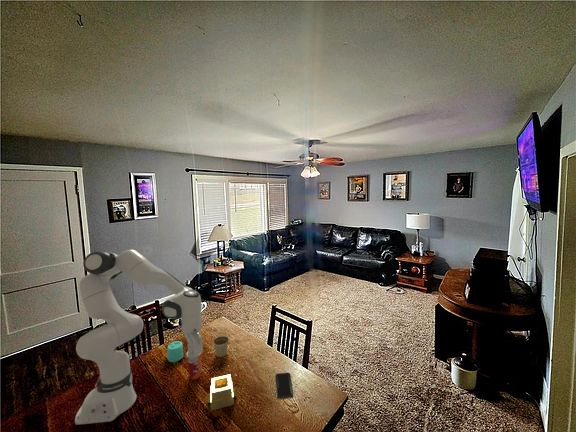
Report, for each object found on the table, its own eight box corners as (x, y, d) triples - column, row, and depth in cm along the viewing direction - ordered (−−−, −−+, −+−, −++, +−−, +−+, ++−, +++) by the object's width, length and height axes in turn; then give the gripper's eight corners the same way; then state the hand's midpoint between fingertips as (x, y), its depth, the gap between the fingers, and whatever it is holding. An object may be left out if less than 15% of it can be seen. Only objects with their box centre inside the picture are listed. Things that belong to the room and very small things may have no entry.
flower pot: (222, 347, 156) (222, 334, 155) (232, 352, 151) (232, 339, 150) (210, 355, 148) (209, 341, 148) (220, 361, 143) (219, 347, 142)
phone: (289, 372, 132) (293, 395, 117) (289, 374, 132) (293, 397, 118) (275, 373, 132) (276, 396, 117) (275, 375, 132) (276, 399, 117)
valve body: (207, 411, 110) (206, 394, 109) (207, 394, 120) (207, 378, 119) (237, 403, 114) (236, 387, 113) (235, 387, 123) (234, 372, 123)
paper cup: (197, 382, 127) (196, 356, 126) (184, 379, 129) (182, 354, 128) (205, 371, 135) (204, 347, 134) (193, 369, 137) (191, 345, 135)
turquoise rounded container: (183, 360, 145) (182, 347, 144) (167, 363, 141) (167, 350, 141) (183, 352, 152) (182, 339, 151) (168, 355, 149) (167, 342, 148)
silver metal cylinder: (186, 360, 118) (185, 343, 117) (194, 355, 121) (194, 338, 120) (191, 364, 115) (191, 346, 114) (200, 359, 119) (199, 342, 118)
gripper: (206, 333, 110) (207, 362, 112) (192, 314, 126) (193, 339, 128) (191, 338, 106) (192, 368, 108) (179, 318, 123) (180, 344, 124)
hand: (193, 352), depth 118 cm, fingers closed on silver metal cylinder, 4 cm apart
